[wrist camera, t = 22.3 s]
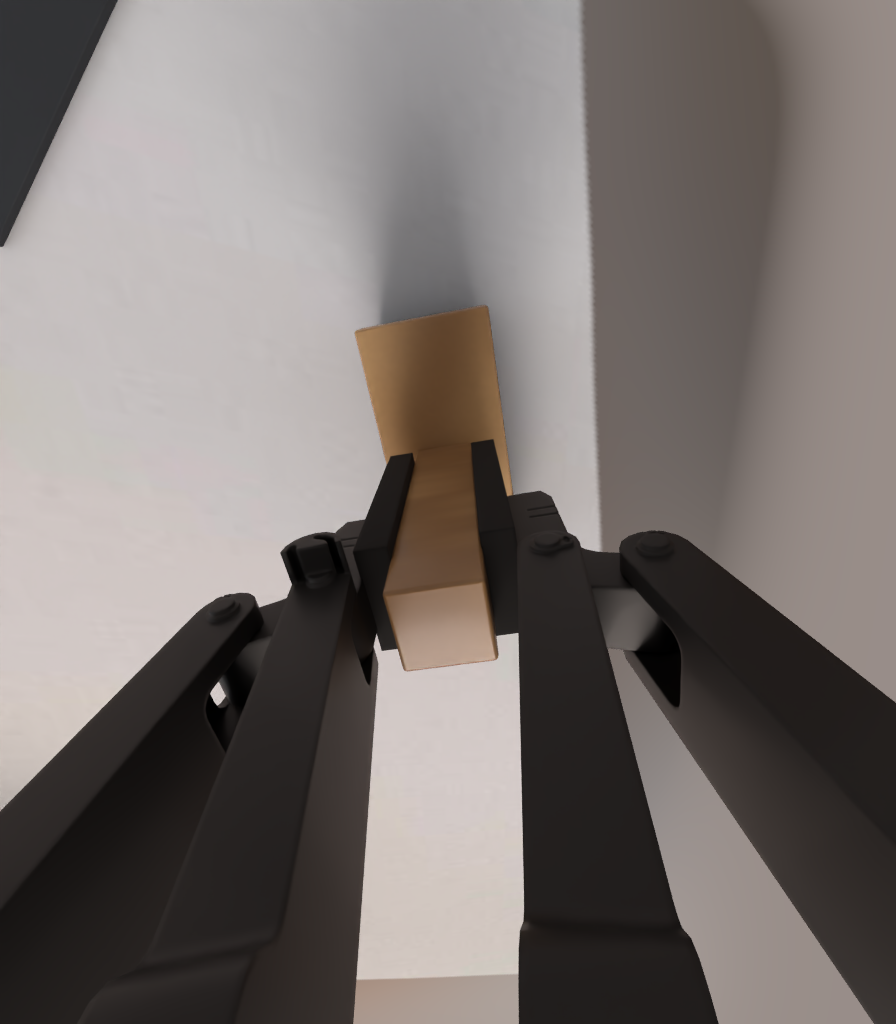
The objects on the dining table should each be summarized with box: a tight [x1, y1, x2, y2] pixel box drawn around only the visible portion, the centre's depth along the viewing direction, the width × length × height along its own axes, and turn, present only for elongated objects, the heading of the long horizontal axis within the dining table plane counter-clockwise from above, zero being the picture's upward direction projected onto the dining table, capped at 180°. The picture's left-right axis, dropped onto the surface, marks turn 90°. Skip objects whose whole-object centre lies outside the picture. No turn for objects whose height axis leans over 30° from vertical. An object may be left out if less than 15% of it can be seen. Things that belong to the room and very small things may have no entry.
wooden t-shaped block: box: [355, 305, 513, 671], centre depth 15 cm, size 4×11×13 cm, turn 10°
